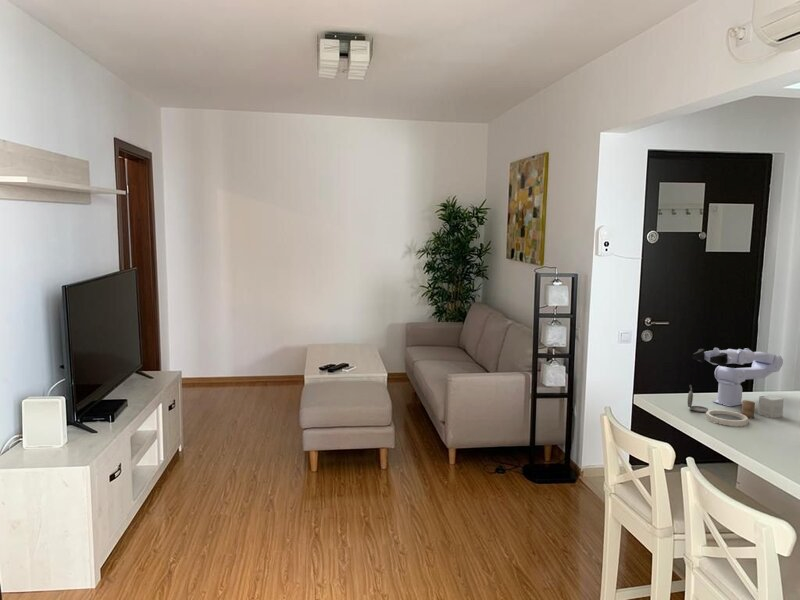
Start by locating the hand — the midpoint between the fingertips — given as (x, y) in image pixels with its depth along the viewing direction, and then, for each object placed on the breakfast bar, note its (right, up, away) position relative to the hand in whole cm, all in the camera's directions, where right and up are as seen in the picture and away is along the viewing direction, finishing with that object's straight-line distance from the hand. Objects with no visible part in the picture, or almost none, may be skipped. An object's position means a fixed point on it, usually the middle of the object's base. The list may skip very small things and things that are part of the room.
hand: (702, 357), depth 238 cm
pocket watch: (-1, -22, +2) cm, 22 cm away
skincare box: (+25, -23, -4) cm, 34 cm away
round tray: (+4, -23, -11) cm, 26 cm away
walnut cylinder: (+15, -23, -6) cm, 28 cm away
